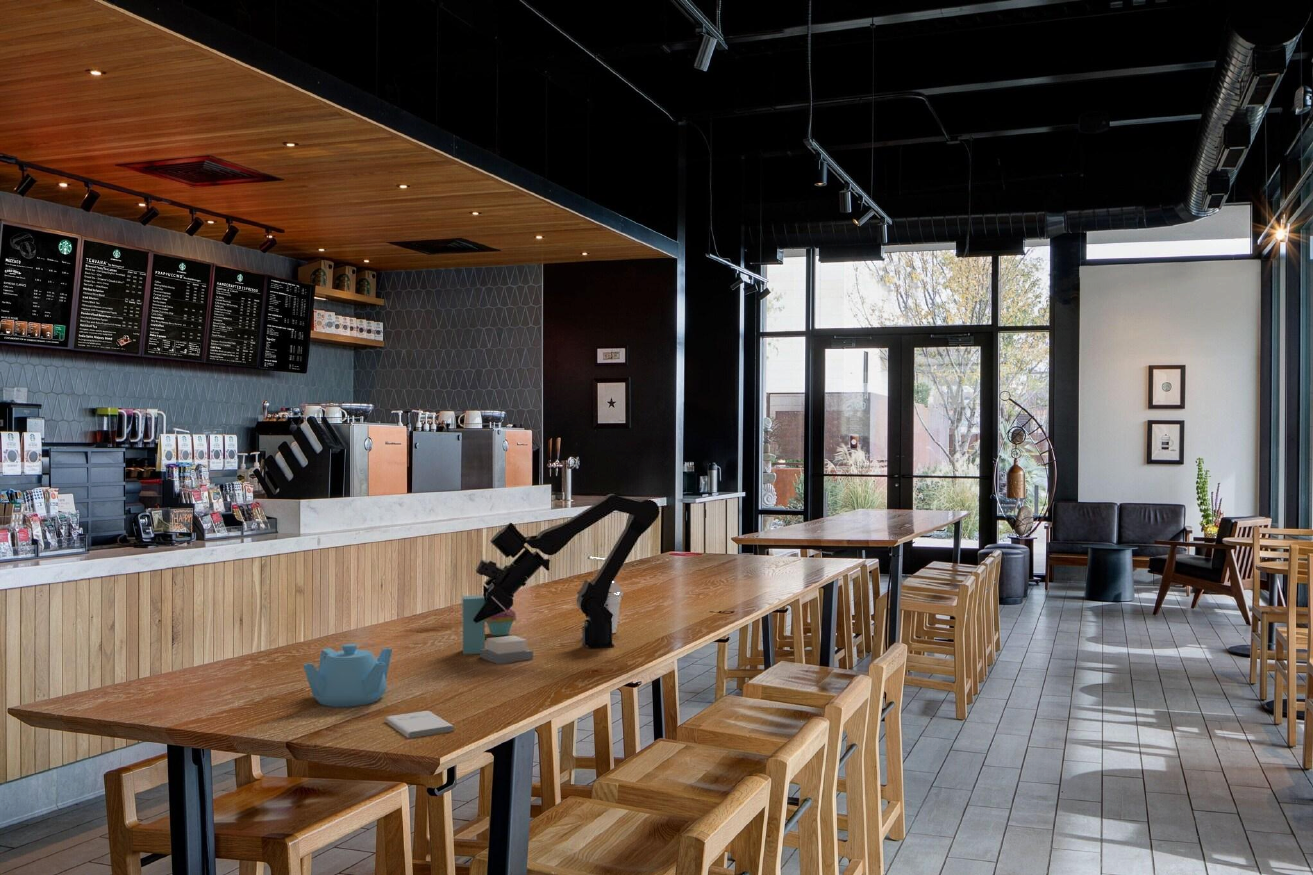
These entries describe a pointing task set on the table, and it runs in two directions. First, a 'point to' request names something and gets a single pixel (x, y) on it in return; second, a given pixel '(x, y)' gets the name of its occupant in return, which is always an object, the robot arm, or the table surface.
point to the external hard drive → (419, 724)
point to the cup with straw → (612, 599)
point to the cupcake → (501, 622)
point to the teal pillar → (472, 625)
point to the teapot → (348, 676)
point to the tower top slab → (506, 644)
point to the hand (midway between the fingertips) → (473, 618)
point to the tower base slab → (506, 656)
